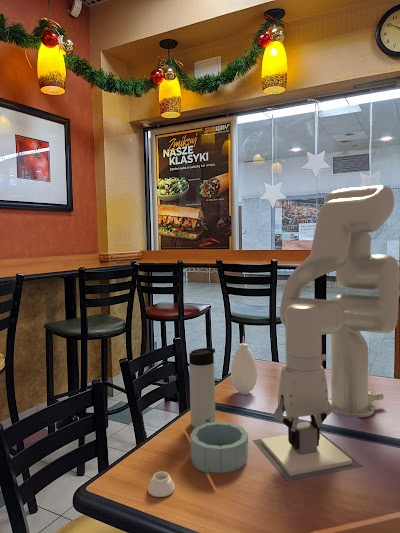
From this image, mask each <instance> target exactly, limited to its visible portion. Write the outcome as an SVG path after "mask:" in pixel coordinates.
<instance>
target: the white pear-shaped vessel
mask: <svg viewBox="0 0 400 533" xmlns="http://www.w3.org/2000/svg"><path fill="white" fill-rule="evenodd" d="M238 346H239V347H238V348H237V349H236V350H235V353H234V355H233V358H232V362H231V367H230V379H231V382H232V385H233V387H234V389H235V390H236V391H237V392H238V393H240V394H242V395H248V394H249V393H251V391H253V390H254V388H255V386H256V384H257V380H258V367H257V363H256V359H255V356H254V354H253V352H252V350H251V349H250V348H249V344H248V343H245V336H244V335H243V336H242V343H239V345H238Z"/></svg>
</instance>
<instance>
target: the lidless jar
mask: <svg viewBox="0 0 400 533" xmlns="http://www.w3.org/2000/svg"><path fill="white" fill-rule="evenodd" d="M150 479H151V480H150V481H149V482H150V483H149V484H148V486H147V491H148V493H149V494H150V495H151V496H152V497H157V498H162V497H168V496H169V495H172V494H173V492H174V491H175V489H176V488H175V486H176V485H175V483H174V480H173V479H172V478H171V476H170V474H169V473H168V472H166V471H157V472H155V473H154V474H153V476H152V477H151V478H150Z"/></svg>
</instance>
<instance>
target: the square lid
mask: <svg viewBox="0 0 400 533" xmlns="http://www.w3.org/2000/svg"><path fill="white" fill-rule="evenodd" d="M297 431H298V432H299V449H297V450H296V449H295V448H294V447H293V446H292V445H291V444H290V443H289V441H288V434H283V435H278V436H272V437H271V438H270V437H266V438H260V439H261V443H262V444H263V445H264V446H265V447H266V448H267V450H268V451H269V452H270V453H271V454H272V455H273V456H274V458H275V459H276V460H277V461H278V462H279V463H280V465H281V466H282V467H283V468H284V469H285V470H286V471H287V473H288V474H289V475H290V476H291V475H296V474H301V473H307V472H312V471H317V470H322V469H328V468H333V467H338V466H344V465H349V464H352V460H351V459H350V458H349V457H348V456H346V455H345V454H344V453H343V452H342V451H340V450H339V449H338V448H337V447H335V446H334V445H333V444H332V443H331V442H329V441H328V440H327V439H326V438H324V437H323V436H322V435H321V434H320V439H319V446H317V429H316V428H315V427H314V426H312V425H311V424H310V423H309V421H302V422H298V425H297Z"/></svg>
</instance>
